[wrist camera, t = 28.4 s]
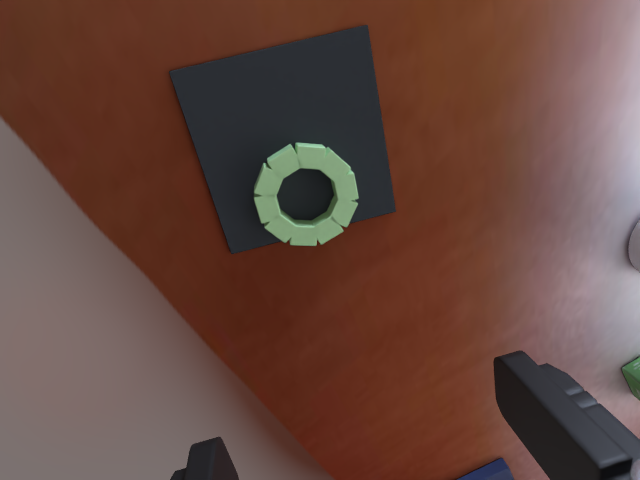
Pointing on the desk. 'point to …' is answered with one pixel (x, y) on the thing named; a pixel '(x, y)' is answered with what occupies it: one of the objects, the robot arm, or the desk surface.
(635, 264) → the pill bottle
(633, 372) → the ink box
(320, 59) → the mat
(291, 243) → the ring
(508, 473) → the stand
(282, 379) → the desk surface
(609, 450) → the robot arm
